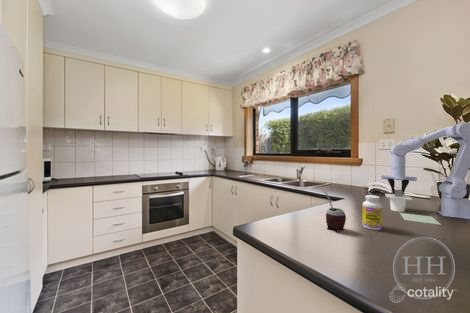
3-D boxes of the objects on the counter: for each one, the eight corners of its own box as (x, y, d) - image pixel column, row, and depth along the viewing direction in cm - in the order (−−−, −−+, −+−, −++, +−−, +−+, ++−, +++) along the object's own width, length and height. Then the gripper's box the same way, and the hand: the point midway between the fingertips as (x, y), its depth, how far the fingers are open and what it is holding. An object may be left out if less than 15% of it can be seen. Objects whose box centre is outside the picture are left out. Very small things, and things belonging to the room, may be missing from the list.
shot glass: (409, 213, 104) (409, 199, 104) (395, 212, 104) (396, 199, 104) (399, 209, 111) (399, 196, 111) (386, 209, 111) (386, 196, 111)
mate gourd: (348, 233, 78) (348, 194, 77) (325, 232, 79) (326, 193, 79) (342, 226, 85) (342, 190, 85) (321, 225, 87) (322, 189, 86)
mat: (432, 217, 96) (432, 216, 96) (441, 225, 86) (441, 224, 86) (399, 213, 102) (399, 212, 102) (404, 220, 92) (404, 219, 92)
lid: (408, 196, 109) (408, 189, 109) (412, 200, 100) (412, 192, 100) (384, 194, 114) (385, 188, 114) (387, 197, 105) (387, 190, 105)
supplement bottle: (362, 228, 83) (363, 197, 82) (361, 223, 89) (361, 194, 88) (383, 231, 80) (383, 198, 79) (380, 226, 85) (380, 195, 85)
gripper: (382, 167, 107) (381, 193, 108) (418, 169, 100) (418, 196, 100) (380, 167, 113) (380, 191, 114) (415, 168, 106) (414, 194, 106)
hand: (397, 193), depth 107 cm, fingers open, 3 cm apart
